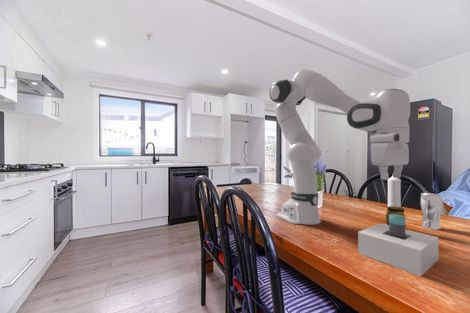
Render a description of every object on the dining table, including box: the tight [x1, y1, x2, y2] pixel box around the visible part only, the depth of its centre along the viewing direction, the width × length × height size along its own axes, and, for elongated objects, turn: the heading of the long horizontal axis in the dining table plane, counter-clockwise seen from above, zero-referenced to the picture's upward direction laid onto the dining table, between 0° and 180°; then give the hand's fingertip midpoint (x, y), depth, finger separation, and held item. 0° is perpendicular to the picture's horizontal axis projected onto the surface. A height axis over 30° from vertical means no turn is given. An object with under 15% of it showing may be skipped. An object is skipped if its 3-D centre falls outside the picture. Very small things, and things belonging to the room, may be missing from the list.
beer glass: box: [420, 192, 443, 231], centre depth 91 cm, size 7×7×15 cm
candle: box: [385, 174, 402, 225], centre depth 91 cm, size 7×7×25 cm
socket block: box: [357, 223, 439, 277], centre depth 66 cm, size 16×16×7 cm
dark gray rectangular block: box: [389, 214, 407, 240], centre depth 66 cm, size 4×4×12 cm
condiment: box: [385, 206, 407, 230], centre depth 81 cm, size 7×8×12 cm
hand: (390, 178), depth 69 cm, fingers open, 8 cm apart
